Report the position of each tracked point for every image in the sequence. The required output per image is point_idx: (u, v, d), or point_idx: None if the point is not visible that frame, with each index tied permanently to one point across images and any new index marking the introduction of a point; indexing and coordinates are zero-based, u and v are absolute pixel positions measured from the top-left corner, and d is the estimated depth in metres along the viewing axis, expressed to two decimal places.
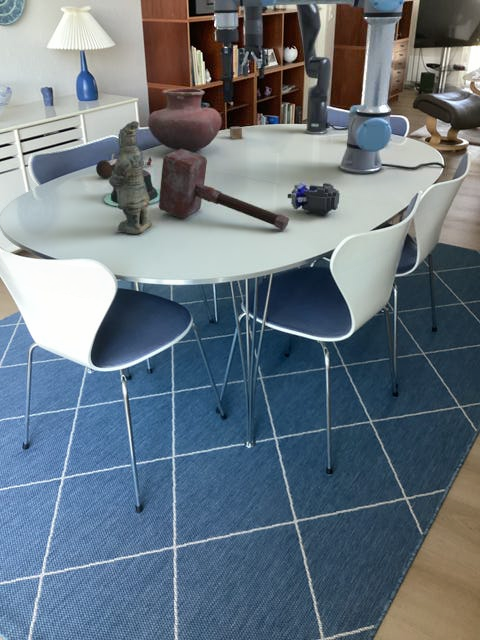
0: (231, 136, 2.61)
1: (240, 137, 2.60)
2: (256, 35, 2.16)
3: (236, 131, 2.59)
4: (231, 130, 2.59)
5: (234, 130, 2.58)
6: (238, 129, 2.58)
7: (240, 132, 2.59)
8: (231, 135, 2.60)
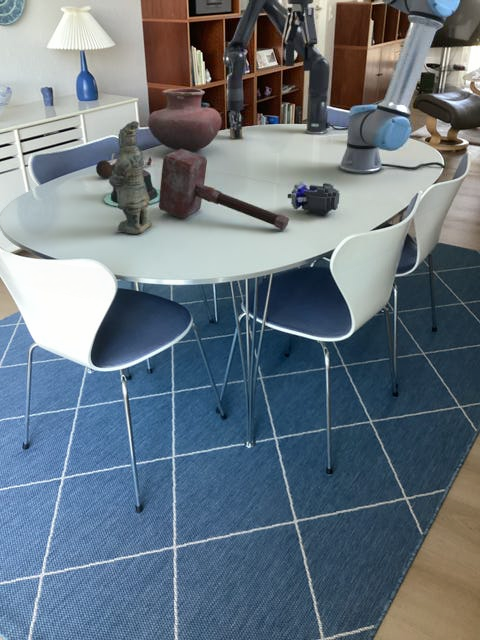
0: (231, 136, 2.61)
1: (240, 137, 2.60)
2: None
3: None
4: (231, 130, 2.59)
5: (234, 130, 2.58)
6: None
7: (240, 132, 2.59)
8: (231, 135, 2.60)
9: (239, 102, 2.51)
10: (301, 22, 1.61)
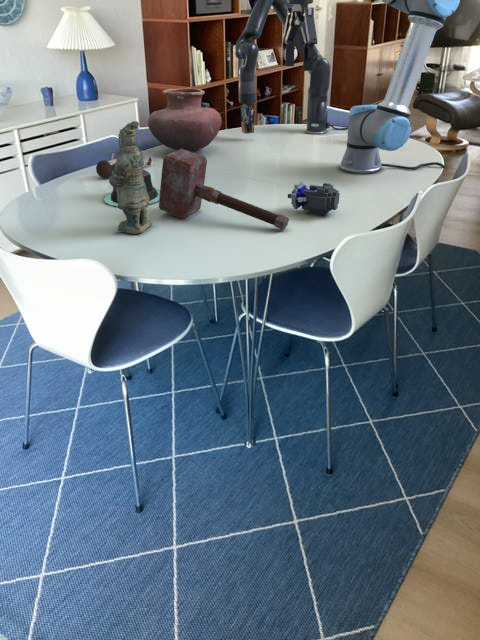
0: (243, 130, 2.54)
1: (252, 131, 2.53)
2: None
3: None
4: (243, 124, 2.52)
5: (246, 124, 2.51)
6: None
7: (252, 126, 2.52)
8: (243, 129, 2.54)
9: (251, 95, 2.44)
10: (301, 22, 1.61)
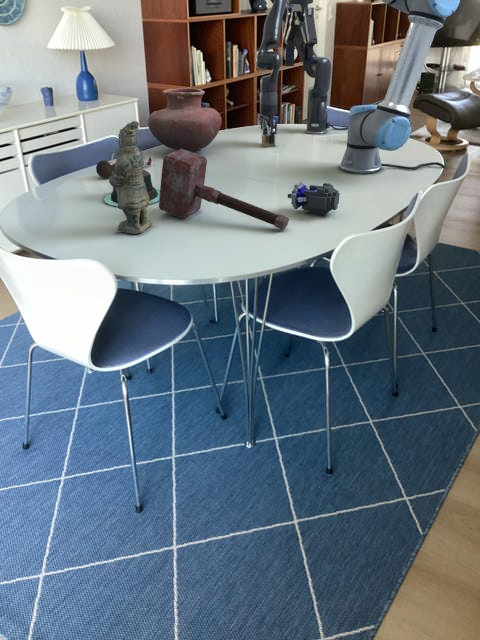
0: (263, 144, 2.46)
1: (273, 145, 2.46)
2: None
3: None
4: (263, 137, 2.44)
5: (267, 137, 2.43)
6: None
7: None
8: (263, 143, 2.46)
9: (273, 107, 2.36)
10: (301, 22, 1.61)
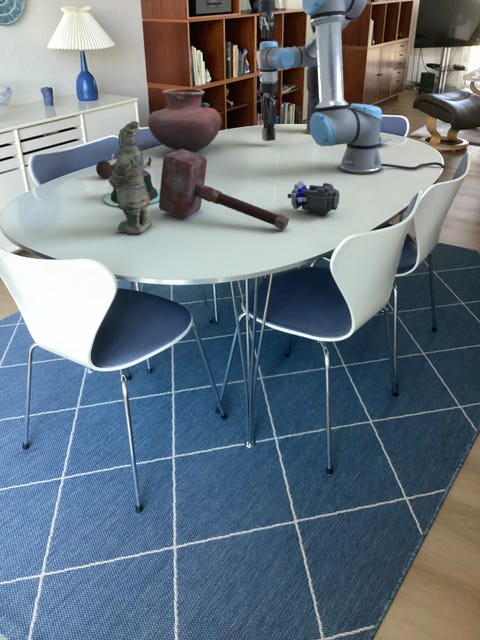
0: (264, 138, 2.44)
1: None
2: None
3: None
4: (264, 131, 2.43)
5: (267, 131, 2.42)
6: None
7: None
8: (264, 137, 2.44)
9: (271, 3, 2.60)
10: (268, 107, 2.36)
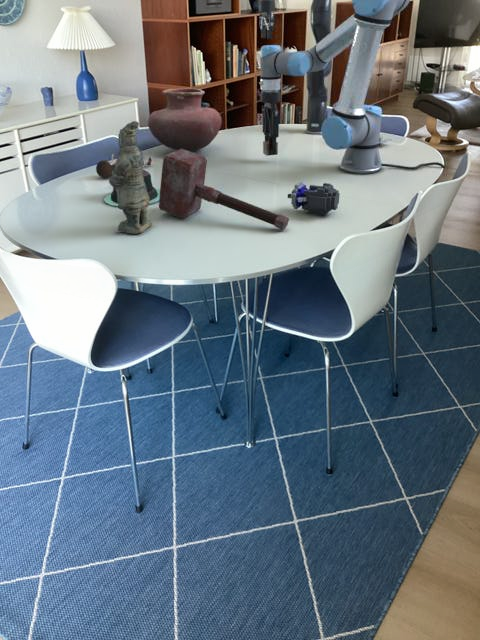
0: (265, 152, 2.20)
1: None
2: None
3: None
4: (265, 145, 2.19)
5: None
6: None
7: (276, 147, 2.19)
8: (265, 151, 2.20)
9: (271, 3, 2.60)
10: (269, 118, 2.12)
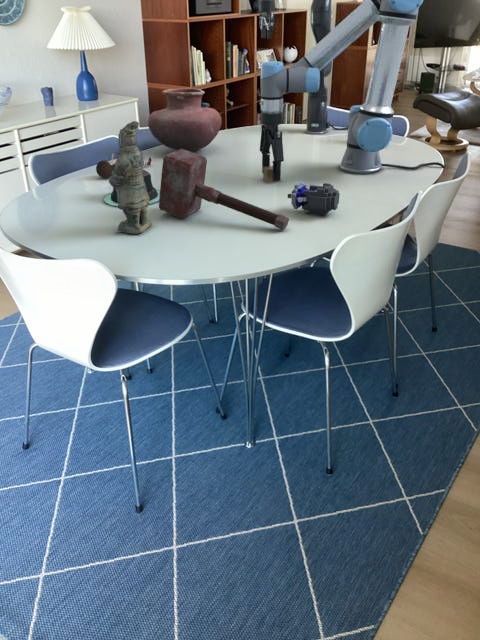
0: (265, 178, 2.00)
1: None
2: None
3: (272, 172, 1.98)
4: (265, 171, 1.98)
5: (269, 171, 1.97)
6: None
7: None
8: (265, 177, 2.00)
9: (271, 3, 2.60)
10: (272, 141, 1.91)
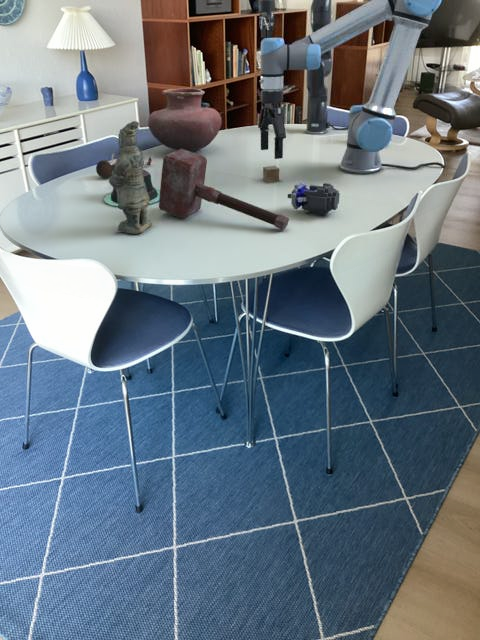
0: (265, 178, 2.00)
1: (277, 180, 2.00)
2: None
3: (272, 172, 1.98)
4: (265, 171, 1.98)
5: (269, 171, 1.97)
6: (275, 170, 1.97)
7: (277, 174, 1.98)
8: (265, 177, 2.00)
9: (271, 3, 2.60)
10: (272, 118, 1.86)
